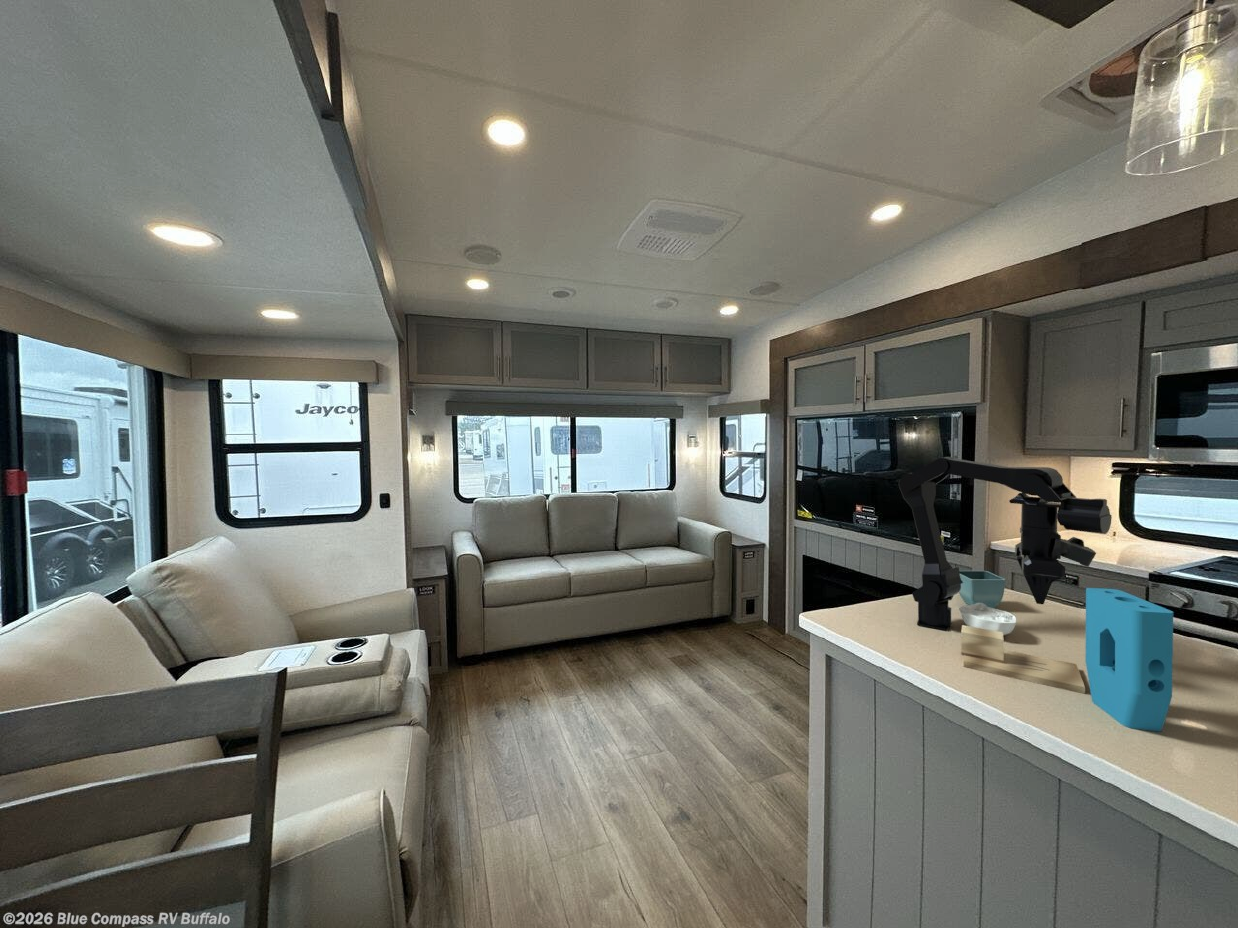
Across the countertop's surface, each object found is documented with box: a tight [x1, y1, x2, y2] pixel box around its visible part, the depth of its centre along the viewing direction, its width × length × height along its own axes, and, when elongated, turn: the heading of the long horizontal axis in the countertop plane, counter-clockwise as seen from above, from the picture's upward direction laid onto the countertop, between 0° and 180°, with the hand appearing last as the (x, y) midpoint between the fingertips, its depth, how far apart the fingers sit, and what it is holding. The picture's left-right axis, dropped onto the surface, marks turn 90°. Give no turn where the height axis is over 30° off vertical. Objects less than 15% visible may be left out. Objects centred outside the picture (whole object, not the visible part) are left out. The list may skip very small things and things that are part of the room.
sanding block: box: [960, 624, 1005, 663], centre depth 98 cm, size 7×4×5 cm, turn 51°
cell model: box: [958, 603, 1018, 636], centre depth 112 cm, size 10×12×7 cm
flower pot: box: [958, 570, 1007, 609], centre depth 129 cm, size 9×9×9 cm
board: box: [963, 649, 1086, 694], centre depth 95 cm, size 18×11×1 cm, turn 51°
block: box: [1085, 587, 1174, 732], centre depth 78 cm, size 12×5×20 cm, turn 164°
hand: (1036, 597), depth 99 cm, fingers open, 9 cm apart
